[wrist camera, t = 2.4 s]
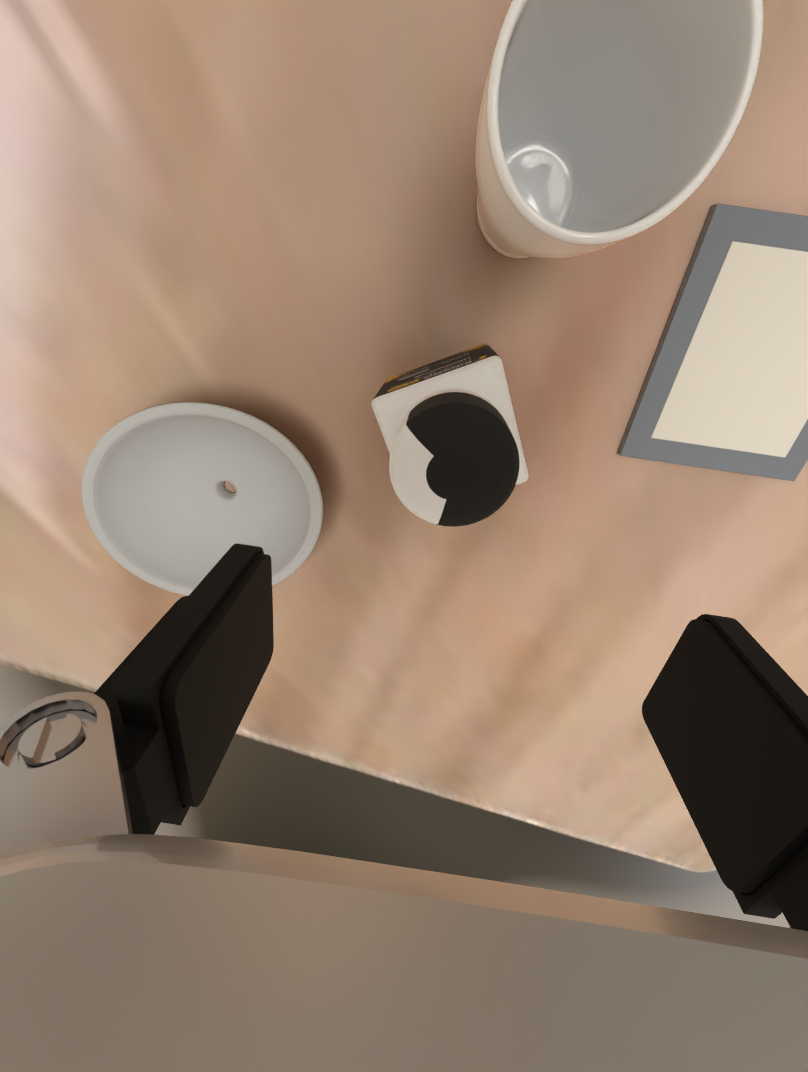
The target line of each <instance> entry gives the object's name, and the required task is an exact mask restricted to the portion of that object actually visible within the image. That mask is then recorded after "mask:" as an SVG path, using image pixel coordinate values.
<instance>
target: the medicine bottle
mask: <svg viewBox="0 0 808 1072" xmlns="http://www.w3.org/2000/svg"><path fill="white" fill-rule="evenodd" d="M372 408H373V411H374V414H375V416H376V419H377V422H378V424H379V427H380V430H381V432H382V435H383V438H384V440H385V443H386V445H387V448H388V451H389V453H390V460H389V473H390V479H391V483H392V486H393V488H394V491H395V493H396V495H397V496H398V498H399V499H400V501H401V502H402V503H403V505H404V506H405V507H406V508H407V509H408V510H409V511H411V512H412V513H413V514H414V515H416V516H418V517H419V518H421V519H423V520H425V521H427V522H430V523H433V524H436V525H442V526H464V525H469V524H472V523H475V522H478V521H481V520H483V519H485V518H487V517H488V516H490V515H491V514H493V513H494V512H495V511H497V510H498V509H499V508H500V507H501V506H502V505H503V504H504V503H505V502H506V500H507V499H508V498H509V496H510V495H511V493H512V491H513V489H514V487H515V485H518V484H521V483H524V482H526V481H527V479H528V471H527V467H526V462H525V458H524V454H523V449H522V445H521V441H520V436H519V432H518V428H517V423H516V419H515V415H514V411H513V406H512V402H511V398H510V393H509V389H508V385H507V380H506V376H505V372H504V367H503V363H502V360H501V358H500V357H499V356H498V355H497V354H496V353H495V352H494V351H493V350H492V348H491V347H490V346H489V345H487V344H483V345H480V346H477V347H474V348H472V349H469V350H466V351H464V352H461V353H458V354H455V355H453V356H450V357H447V358H444V359H442V360H439V361H436V362H433V363H431V364H428V365H425V366H422V367H420V368H417V369H414V370H411V371H409V372H406V373H403V374H400V375H398V376H395V377H392V378H389V379H388V380H387V381H386V382H385V383H384V385H383V386H382V388H381V389H380V390H379V392H378V393H377V395H376V396H375V397H374V399H373V401H372Z"/></svg>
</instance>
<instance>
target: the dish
mask: <svg viewBox="0 0 808 1072" xmlns="http://www.w3.org/2000/svg"><path fill="white" fill-rule="evenodd" d="M225 481H228V482H230V483H232V484H233V485H234V486H235V488H236V492H234V493H232V492H229V491H227V490H226V489H225V487H224V482H225ZM81 493H82V502H83V507H84V511H85V514H86V517H87V520H88V523H89V525H90V527H91V529H92V531H93V533H94V534H95V536H96V538H97V539H98V541H99V542H100V543H101V545H102V546H103V547H104V549H105V550H106V551H107V552H108V553H109V554H110V555H111V556H112V557H113V558H114V559H115V560H116V561H117V562H118V563H119V564H120V565H122V566H123V567H124V568H125V569H127V570H128V571H130V572H131V573H132V574H134V575H136V576H137V577H139V578H141V579H142V580H144V581H146V582H148V583H150V584H152V585H155V586H157V587H159V588H162V589H165V590H168V591H171V592H174V593H178V594H182V595H187V596H189V595H190V593H191V592H192V591H193V590H194V589H195V588H196V587H197V585H198V584H199V583H200V582H201V581H202V580H203V579H204V577H205V576H206V575H207V574H208V573H209V572H210V571H211V569H212V568H213V567H214V566H215V565H216V564H217V563H218V561H219V560H220V559H221V558H222V557H223V556H224V555H225V553H226V552H227V551H228V550H229V549H230V548H231V546H232V545H234V544H236V543H238V544H245V545H251V546H258V547H262V548H263V551H264V554H267V555H270V556H271V564H272V586H273V585H275V584H277V583H279V582H281V581H282V580H284V579H285V578H287V577H288V576H289V575H291V574H292V573H293V572H294V571H296V570H297V569H298V568H299V567H300V566H301V565H302V564H303V562H304V561H305V560H306V559H307V558H308V556H309V555H310V553H311V552H312V550H313V548H314V546H315V544H316V542H317V540H318V537H319V535H320V531H321V527H322V521H323V501H322V494H321V490H320V487H319V483H318V481H317V478H316V476H315V473H314V472H313V470H312V468H311V466H310V464H309V463H308V461H307V460H306V458H305V457H304V456H303V454H302V453H301V452H300V451H299V450H298V448H297V447H296V446H295V445H294V444H293V443H292V442H291V441H290V440H289V439H288V438H287V437H285V436H284V435H283V434H282V433H280V432H279V431H278V430H276V429H275V428H273V427H272V426H270V425H269V424H267V423H266V422H264V421H262V420H260V419H258V418H256V417H254V416H252V415H249V414H247V413H244V412H242V411H239V410H236V409H233V408H229V407H225V406H221V405H216V404H209V403H199V402H180V403H170V404H163V405H159V406H155V407H151V408H147V409H145V410H142V411H139V412H137V413H135V414H133V415H131V416H129V417H127V418H125V419H124V420H122V421H120V422H119V423H117V424H116V425H115V426H114V427H112V428H111V429H110V430H109V431H108V432H107V433H106V434H105V435H104V436H103V437H102V438H101V439H100V440H99V441H98V443H97V444H96V445H95V447H94V448H93V450H92V452H91V454H90V455H89V458H88V460H87V462H86V465H85V468H84V472H83V478H82V491H81Z"/></svg>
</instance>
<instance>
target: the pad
mask: <svg viewBox="0 0 808 1072" xmlns="http://www.w3.org/2000/svg"><path fill="white" fill-rule="evenodd" d="M617 453H618V454H619V455H620V456H627V457H634V458H640V459H647V460H654V461H661V462H667V463H674V464H681V465H688V466H694V467H701V468H708V469H715V470H721V471H728V472H735V473H742V474H748V475H755V476H762V477H769V478H775V479H782V480H789V481H795V479H796V478H797V476H798V474H799V473H800V471H801V469H802V468H803V466H804V464H805V463H806V461H807V460H808V216H802V215H795V214H788V213H781V212H774V211H767V210H760V209H752V208H745V207H738V206H731V205H724V204H715V205H712V206H711V209H710V212H709V214H708V217H707V219H706V222H705V225H704V227H703V230H702V232H701V235H700V238H699V240H698V243H697V246H696V248H695V251H694V253H693V256H692V259H691V261H690V264H689V267H688V269H687V272H686V274H685V277H684V280H683V282H682V285H681V287H680V290H679V293H678V295H677V298H676V301H675V303H674V306H673V308H672V311H671V314H670V316H669V319H668V321H667V324H666V327H665V329H664V332H663V335H662V337H661V340H660V342H659V345H658V348H657V350H656V353H655V355H654V358H653V361H652V363H651V366H650V369H649V371H648V374H647V376H646V379H645V382H644V384H643V387H642V389H641V392H640V395H639V397H638V400H637V403H636V405H635V408H634V410H633V413H632V416H631V418H630V421H629V423H628V426H627V429H626V431H625V434H624V437H623V439H622V442H621V444H620V447H619V450H618V452H617Z"/></svg>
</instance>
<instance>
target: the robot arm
mask: <svg viewBox="0 0 808 1072" xmlns="http://www.w3.org/2000/svg"><path fill="white" fill-rule="evenodd" d="M272 653H273V604H272V564H271V556H270V555H267V554H264V551H263V548H262V547H258V546H251V545H245V544H238V543H236V544H234V545H232V546H231V548H230V549H229V550H228V551H227V552H226V553H225V555H224V556H223V557H222V558H221V559H220V560H219V561H218V563H217V564H216V565H215V566H214V567H213V568H212V569H211V571H210V572H209V573H208V574H207V575H206V576H205V577H204V579H203V580H202V581H201V582H200V583H199V584H198V585H197V587H196V588H195V589H194V590H193V591H192V592H191V593H190V595H189V596H185V597H182V598H180V599H179V600H178V601H177V602H176V603H175V604H174V605H173V606H172V607H171V608H170V610H169V611H168V612H167V613H166V614H165V615H164V616H163V617H162V618H161V620H160V621H159V622H158V623H157V624H156V625H155V626H154V627H153V629H152V630H151V631H150V632H149V633H148V634H147V635H146V636H145V637H144V639H143V640H142V641H141V642H140V643H139V644H138V645H137V646H136V648H135V649H134V650H133V651H132V652H131V653H130V654H129V655H128V656H127V658H126V659H125V660H124V661H123V662H122V663H121V664H120V665H119V667H118V668H117V669H116V670H115V671H114V672H113V673H112V674H111V675H110V677H109V678H108V679H107V680H106V681H105V682H104V683H103V684H102V685H101V687H100V688H99V689H98V690H97V691H96V692H95V693H94V694H91V693H87V692H65V693H61V694H56V695H51V696H48V697H46V698H43V699H40V700H38V701H35V702H33V703H31V704H29V705H27V706H25V707H24V708H22V709H21V710H19V711H17V712H15V713H14V714H12V715H11V716H10V717H9V718H7V719H6V720H5V721H4V722H3V723H2V724H0V1072H808V696H807V695H806V694H805V693H804V692H803V691H802V690H801V688H800V687H799V686H798V685H797V684H796V683H795V682H794V681H793V680H792V679H791V678H790V677H789V676H788V675H787V673H786V672H785V671H784V670H783V669H782V668H781V667H780V666H779V665H778V664H777V663H776V662H775V661H774V659H773V658H772V657H771V656H770V655H769V654H768V653H767V652H766V651H765V650H764V649H763V648H762V647H761V646H760V644H759V643H758V642H757V641H756V640H755V639H754V638H753V637H752V636H751V635H750V634H749V633H748V632H747V630H746V629H745V628H744V627H743V626H742V625H741V624H740V623H739V622H738V621H737V620H735V619H732V618H728V617H721V616H715V615H708V614H704V615H701V616H699V617H698V618H697V619H695V620H692V621H690V622H689V624H688V625H687V627H686V629H685V630H684V632H683V634H682V636H681V637H680V639H679V641H678V643H677V644H676V646H675V648H674V650H673V651H672V653H671V655H670V657H669V658H668V660H667V662H666V664H665V665H664V667H663V669H662V671H661V672H660V674H659V676H658V678H657V679H656V681H655V683H654V685H653V686H652V688H651V690H650V692H649V693H648V695H647V697H646V699H645V700H644V702H643V706H642V714H643V718H644V721H645V723H646V725H647V727H648V729H649V731H650V733H651V735H652V737H653V739H654V741H655V743H656V745H657V748H658V750H659V752H660V754H661V756H662V758H663V760H664V762H665V764H666V766H667V768H668V770H669V772H670V774H671V776H672V778H673V781H674V783H675V785H676V787H677V789H678V791H679V793H680V795H681V797H682V799H683V801H684V803H685V805H686V807H687V809H688V811H689V814H690V816H691V818H692V820H693V822H694V824H695V826H696V828H697V830H698V832H699V834H700V836H701V838H702V840H703V842H704V844H705V847H706V849H707V851H708V853H709V855H710V857H711V859H712V861H713V863H714V865H715V867H716V869H717V871H718V873H719V875H720V878H721V879H722V881H723V883H724V884H725V885H726V886H727V887H728V888H729V889H730V890H732V891H733V893H734V895H735V897H736V899H737V901H738V903H739V905H740V907H741V909H742V911H743V913H744V914H748V915H755V916H761V917H768V918H776V917H777V916H778V915H780V914H781V913H782V912H783V914H784V916H785V918H786V920H787V921H788V923H789V925H790V926H789V928H785V927H779V926H772V925H766V924H760V923H754V922H748V921H742V920H735V919H730V918H723V917H717V916H711V915H705V914H699V913H693V912H687V911H680V910H674V909H668V908H661V907H656V906H649V905H643V904H637V903H630V902H624V901H618V900H611V899H605V898H599V897H592V896H586V895H580V894H573V893H567V892H561V891H554V890H547V889H542V888H535V887H528V886H522V885H516V884H509V883H503V882H496V881H490V880H484V879H477V878H471V877H465V876H458V875H452V874H445V873H439V872H432V871H425V870H419V869H411V868H406V867H399V866H392V865H386V864H379V863H373V862H366V861H359V860H352V859H346V858H340V857H332V856H326V855H320V854H313V853H306V852H300V851H292V850H284V849H277V848H269V847H262V846H254V845H246V844H239V843H231V842H223V841H216V840H209V839H201V838H189V837H176V836H162V835H154V833H155V832H156V830H157V828H158V826H159V824H160V822H163V823H170V824H176V825H181V823H182V822H183V819H184V817H185V816H186V814H187V812H188V810H189V807H190V806H192V807H197V806H199V805H200V803H201V802H202V800H203V798H204V796H205V795H206V793H207V790H208V788H209V786H210V784H211V782H212V780H213V778H214V776H215V774H216V772H217V770H218V768H219V766H220V763H221V762H222V759H223V757H224V755H225V753H226V751H227V749H228V747H229V745H230V743H231V741H232V738H233V737H234V735H235V733H236V731H237V728H238V726H239V724H240V722H241V720H242V718H243V716H244V714H245V712H246V710H247V708H248V706H249V704H250V702H251V700H252V697H253V695H254V693H255V691H256V689H257V687H258V685H259V683H260V681H261V679H262V677H263V675H264V673H265V671H266V669H267V666H268V664H269V662H270V660H271V657H272Z"/></svg>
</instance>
